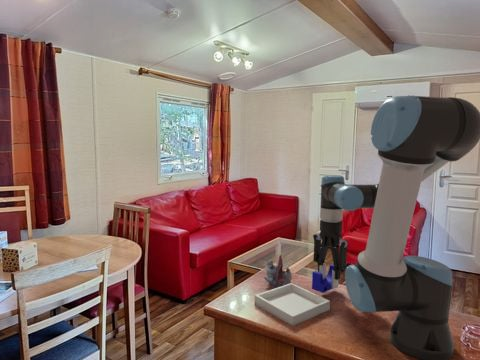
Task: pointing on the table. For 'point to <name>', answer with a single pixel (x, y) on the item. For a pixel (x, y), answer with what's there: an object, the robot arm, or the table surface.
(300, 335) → the table surface
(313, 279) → the blue curved block
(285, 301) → the kit tray
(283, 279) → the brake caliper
